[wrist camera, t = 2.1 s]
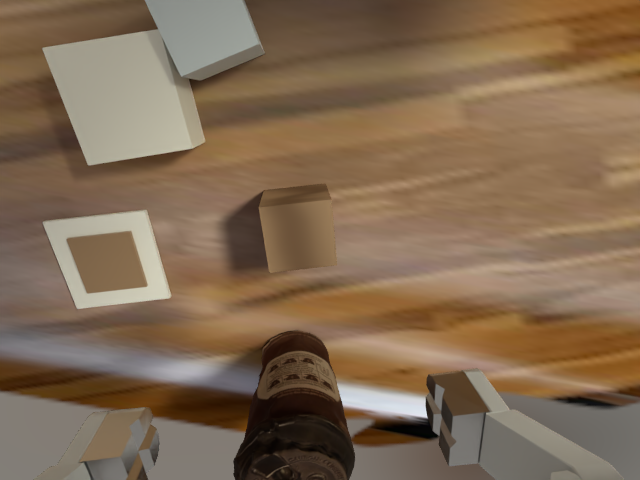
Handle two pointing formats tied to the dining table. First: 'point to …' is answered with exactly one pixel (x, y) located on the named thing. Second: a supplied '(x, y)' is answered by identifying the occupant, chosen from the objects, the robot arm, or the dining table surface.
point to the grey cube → (206, 34)
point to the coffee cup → (296, 416)
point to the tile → (109, 258)
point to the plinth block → (125, 97)
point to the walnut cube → (298, 228)
